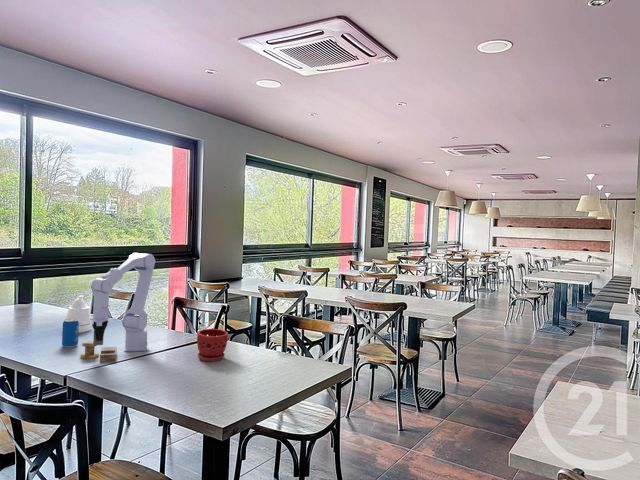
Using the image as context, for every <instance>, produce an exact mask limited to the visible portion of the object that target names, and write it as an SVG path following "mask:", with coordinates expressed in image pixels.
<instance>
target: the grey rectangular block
mask: <svg viewBox="0 0 640 480" xmlns="http://www.w3.org/2000/svg"><path fill="white" fill-rule="evenodd" d="M104 336H105V334H104V335H103V337H104ZM92 341H93V345H97V346H103V345H104V339H103V340H102V341H97V340H96V335H95V331H94V330H93V340H92Z"/></svg>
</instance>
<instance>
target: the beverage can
mask: <svg viewBox="0 0 640 480" xmlns="http://www.w3.org/2000/svg"><path fill="white" fill-rule="evenodd" d="M61 331H62V334H61V335H62V336H61V338H62V339H61V345H62V347H63V348H67V349H68V348H76V346H77V345H79V333H78V331H79V322H78V319H63V322H62V330H61Z"/></svg>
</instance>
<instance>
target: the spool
mask: <svg viewBox="0 0 640 480" xmlns="http://www.w3.org/2000/svg"><path fill="white" fill-rule="evenodd" d="M93 341H94V340H88V341H87V340H86V341H83V342H81V343H82V344H81V346H82V347H84V352H82V353H80V356H79V357H80V359H82V360H92V359H93V360H94V359H97V358H98V357H100V354H99V352H96V351H95V347H97V346H98V345H93Z"/></svg>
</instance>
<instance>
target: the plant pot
mask: <svg viewBox="0 0 640 480" xmlns="http://www.w3.org/2000/svg"><path fill="white" fill-rule="evenodd" d="M196 336H197V337H196V341H197V342H196V344H197V349H198V353H197V358H198V359H200V360H202V361H205V362H217V361H220V360H223V359H224V358H225V354H226V353H224V352H225V351H226V347H227V345H228V340H229V339H228V338H229V333H228V332H227V331H226V330H224V329H217V328H205V329H201V330H198V332H197V335H196Z"/></svg>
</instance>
